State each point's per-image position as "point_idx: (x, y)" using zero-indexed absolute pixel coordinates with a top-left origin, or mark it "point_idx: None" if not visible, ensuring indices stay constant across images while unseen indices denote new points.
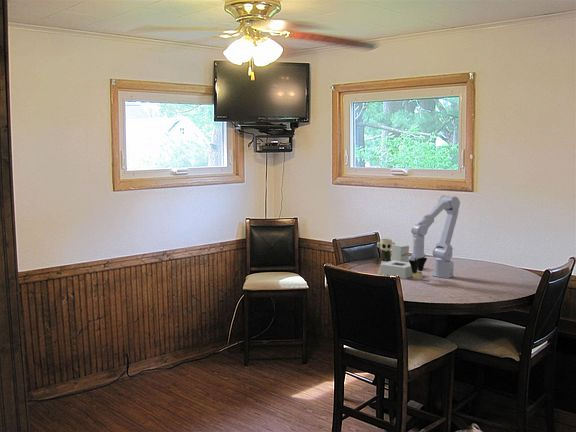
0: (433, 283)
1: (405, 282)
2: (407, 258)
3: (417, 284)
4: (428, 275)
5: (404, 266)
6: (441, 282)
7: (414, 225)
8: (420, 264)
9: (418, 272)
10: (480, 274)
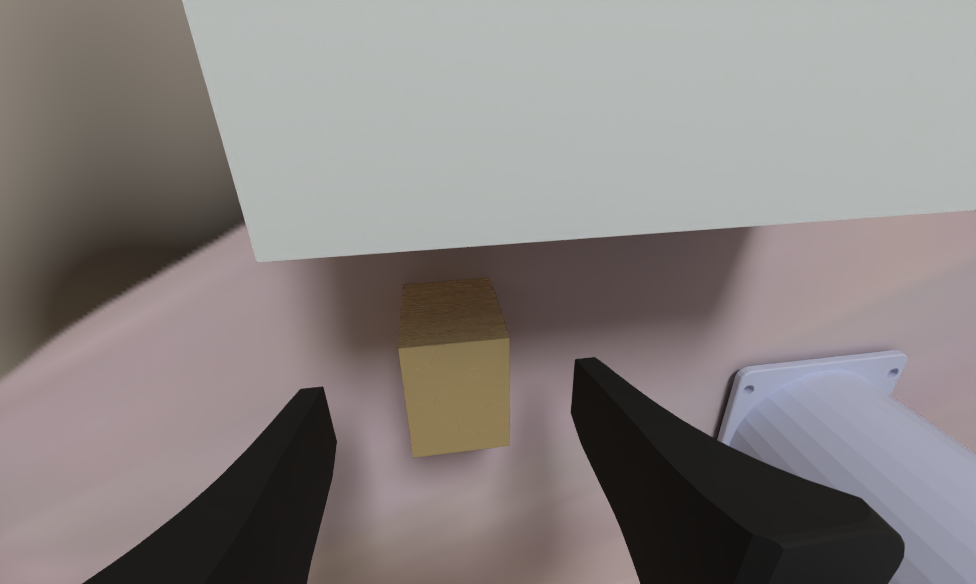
0: (383, 533)
1: (107, 318)
2: None
3: (172, 469)
4: (764, 317)
5: (421, 134)
6: (486, 549)
7: None
8: (631, 483)
9: (436, 425)
10: None
